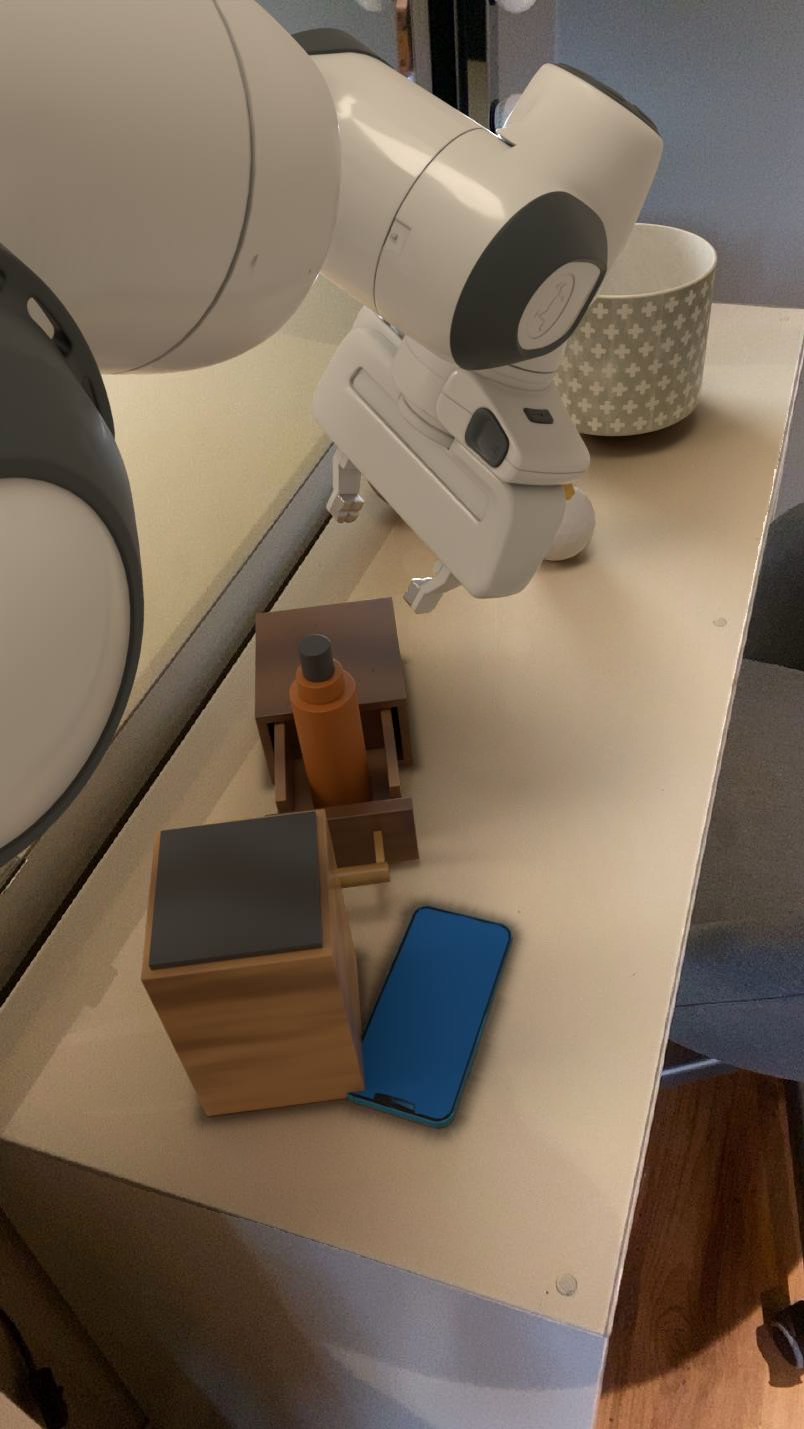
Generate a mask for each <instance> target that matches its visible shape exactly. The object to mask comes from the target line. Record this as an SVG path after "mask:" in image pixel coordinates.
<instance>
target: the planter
mask: <svg viewBox="0 0 804 1429" xmlns="http://www.w3.org/2000/svg"><path fill="white" fill-rule="evenodd" d="M717 264H718V254H717V251H716V250H715V247H714V246H713V245H712V244H710V242H709V241H707V240H706V239H705V238H703V237H701V236H700V235H697V234H696V233H693V232H691V231H688V230H685V229H681V228H678V227H673V226H668V225H663V224H654V223H646V222H645V223H644V222H643V223H642V222H636V223H635V225H634V227H633V229H632V232H631V234H630V236H629V238H628V240H627V242H626V244H625V246H624V248H623V250H622V253H621V255H620V257H619V259H618V260H617V262H616V264H615V266H614V268H613V270H612V272H611V274H610V276H609V278H608V280H607V282H606V283H605V285H604V287H603V289H602V291H601V293H600V294H599V296H598V297H597V299H596V300H595V301H594V303H593V304H592V305H591V306H590V307H589V308H588V309H587V311H586V312H585V314H584V316H583V318H582V319H581V321H580V323H579V324H578V326H577V328H576V329H575V331H574V332H573V333H572V335H571V336H570V337H569V338H568V341H567V344H566V349H565V353H564V357H563V360H562V362H561V365H560V367H559V368H558V370H557V372H556V374H555V376H554V377H553V379H552V380H553V382H554V383H555V385H556V387H557V389H558V391H559V394H560V396H561V399H562V401H563V403H564V405H565V408H566V410H567V412H568V414H569V416H570V418H571V420H572V422H573V423H574V425H575V427H576V429H577V431H578V433H579V434H585V435H591V436H598V437H599V436H600V437H601V436H603V437H623V436H624V437H625V436H627V437H628V436H635V435H642V434H647V433H651V432H656V431H659V430H662V429H663V430H664V429H665V428H669V427H670V426H673V425H675V424H677V423H678V422H681V421H682V420H684V419H685V418H687V417H688V416H689V415H691V413H692V412H693V411H694V410H696V407H697V406H698V404H699V402H700V399H701V395H702V394H701V393H702V386H703V378H704V369H705V362H706V353H707V345H708V337H709V330H710V329H709V328H710V320H711V312H712V305H713V304H712V303H713V296H714V288H715V281H716V272H717Z"/></svg>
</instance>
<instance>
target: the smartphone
mask: <svg viewBox="0 0 804 1429" xmlns="http://www.w3.org/2000/svg"><path fill="white" fill-rule="evenodd" d="M512 944H513V931H512V929H511V928H510V927H509V926H508V925H506V924H505V923H501V922H497V921H495V920H494V921H493V920H490V919H487V918H482V917H477V916H474V915H470V914H465V913H461V912H456V911H453V910H449V909H444V908H441V907H437V906H433V905H428V904H427V905H420V906H419V907H417V908H415V909H414V910H413V911H412V913H411V916H410V918H409V920H408V923H407V925H406V927H405V929H404V931H403V935H402V937H401V940H400V942H399V944H398V947H397V949H396V951H395V953H394V956H393V958H392V961H391V963H390V965H389V968H388V970H387V973H386V974H385V978H384V980H383V982H382V985H381V987H380V990H379V991H378V994H377V997H376V999H375V1001H374V1003H373V1006H372V1009H371V1010H370V1013H369V1015H368V1018H367V1020H366V1022H365V1025H364V1027H363V1029H362V1034H361V1037H362V1052H363V1066H364V1080H365V1091H359V1092H351V1093H346V1095H347V1098H346V1099H347V1100H349V1101H350V1102H352V1103H355V1104H359V1105H361V1106H365V1107H367V1108H371V1109H375V1110H377V1111H380V1112H384V1113H387V1114H390V1115H393V1116H396V1117H400V1118H403V1119H406V1120H409V1121H413V1122H415V1123H418V1124H422V1125H426V1126H429V1127H432V1128H439V1129H440V1128H445V1127H446V1126H448V1125H450V1124H451V1123H452V1122H453V1120H454V1119H455V1117H456V1114H457V1110H458V1108H459V1104H460V1102H461V1098H462V1095H463V1092H464V1089H465V1086H466V1083H467V1081H468V1077H469V1075H470V1073H471V1069H472V1066H473V1063H474V1059H475V1057H476V1054H477V1050H478V1048H479V1045H480V1041H481V1039H482V1035H483V1033H484V1029H485V1026H486V1023H487V1020H488V1017H489V1014H490V1011H491V1009H492V1004H493V1002H494V998H495V996H496V993H497V990H498V986H499V983H500V980H501V977H502V974H503V971H504V968H505V965H506V962H507V959H508V955H509V953H510V949H511V946H512Z"/></svg>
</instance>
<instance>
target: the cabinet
mask: <svg viewBox="0 0 804 1429" xmlns="http://www.w3.org/2000/svg"><path fill="white" fill-rule="evenodd" d="M396 621H397V620H396V614H395V607H394V599H393V597H392V596H384V597H378V598H371V599H370V598H369V599H363V600H355V601H354V600H353V601H347V602H338V603H331V604H323V605H315V606H307V607H299V608H291V609H284V610H283V609H282V610H275V611H267V612H259V613H256V614H255V648H254V649H255V650H254V651H255V653H254V654H255V656H254V657H255V658H254V662H255V663H254V720H255V724H256V727H257V731H258V735H259V739H260V740H259V741H260V743H261V746H262V751H263V755H264V758H265V762H266V767H267V770H268V774H269V777H270V783H271V784H275V745H274V722H281V721H289V720H295V719H294V715H293V710H292V706H291V701H290V697H289V690H290V687H291V684H292V683H293V681H294V680H295V679H296V671H297V669H298V667H299V666H300V665H301V664H300V659H299V654H298V649H297V646H298V643H299V642H300V641H301V640H302V639H303V638H305V637H307V636H310V635H323V636H325V637H327V638H328V639H329V641H330V645H331V650H332V656H333V659H335V660H337V661H338V662H339V663H340V665H341V666H342V670H344V671H346V672H347V673H349V674H350V675H351V676H352V678H353V679H354V682H355V687H356V693H357V699H358V706H359V711H367V710H375V709H383V708H391V714H392V722H393V730H394V738H395V745H396V753H397V761H398V769H399V768H407V767H413V766H415V760H414V751H413V743H412V742H413V740H412V732H411V726H410V725H411V724H410V716H409V708H408V707H409V706H408V698H407V691H406V690H407V689H406V684H405V678H404V676H405V675H404V671H403V663H402V655H401V648H400V642H399V635H398V628H397V622H396Z"/></svg>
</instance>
